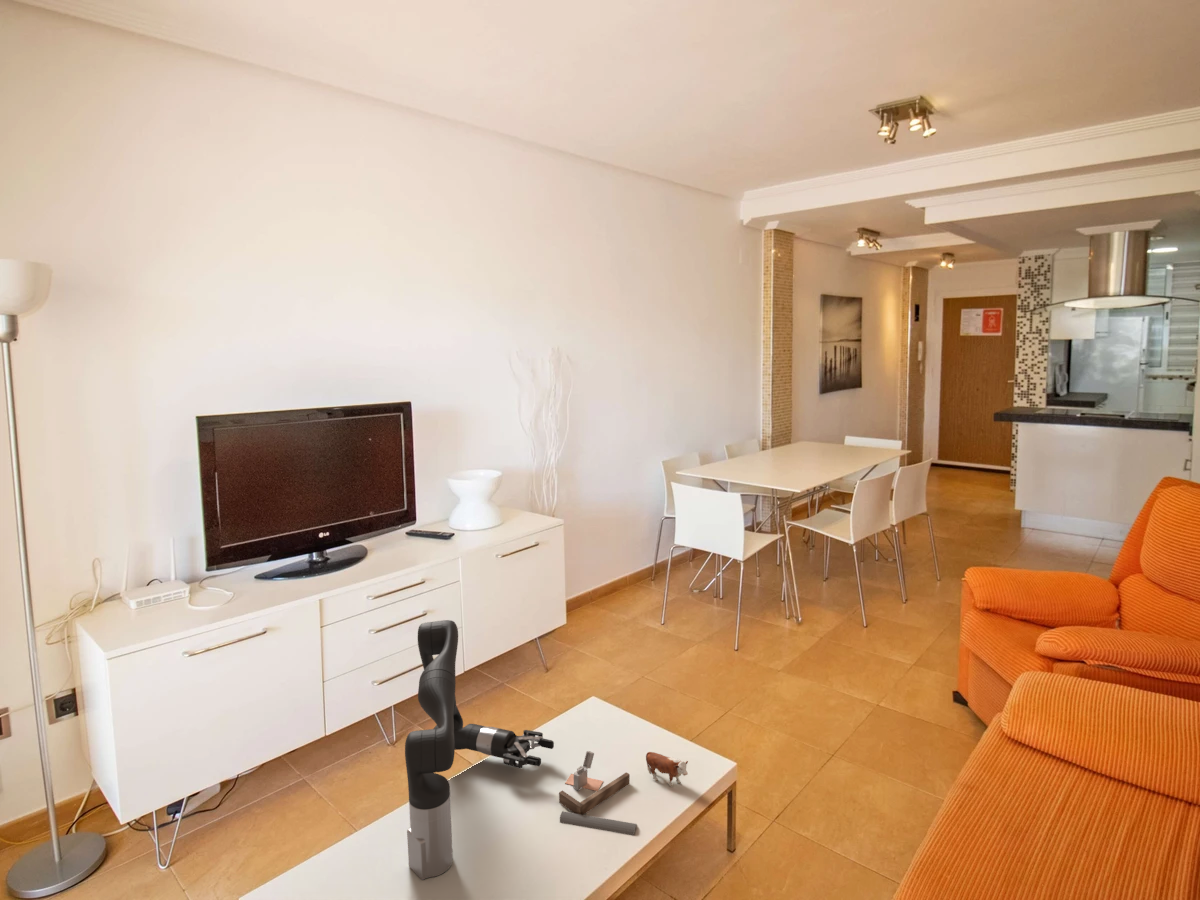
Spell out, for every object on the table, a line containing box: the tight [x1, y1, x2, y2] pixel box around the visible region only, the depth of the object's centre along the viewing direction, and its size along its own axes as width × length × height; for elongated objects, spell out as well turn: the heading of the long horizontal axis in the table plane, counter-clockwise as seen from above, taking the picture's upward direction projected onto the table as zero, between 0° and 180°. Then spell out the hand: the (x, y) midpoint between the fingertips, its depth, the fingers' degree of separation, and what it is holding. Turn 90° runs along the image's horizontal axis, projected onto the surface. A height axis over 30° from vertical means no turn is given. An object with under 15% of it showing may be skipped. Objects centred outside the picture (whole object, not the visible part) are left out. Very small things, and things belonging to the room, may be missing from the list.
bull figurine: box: [645, 751, 689, 787], centre depth 191 cm, size 4×13×8 cm, turn 53°
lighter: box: [573, 750, 595, 791], centre depth 190 cm, size 7×2×8 cm, turn 142°
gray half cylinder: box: [559, 810, 637, 836], centre depth 175 cm, size 4×20×2 cm, turn 76°
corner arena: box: [558, 772, 630, 815], centre depth 186 cm, size 19×8×3 cm, turn 135°
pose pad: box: [565, 773, 604, 792], centre depth 191 cm, size 4×10×1 cm, turn 70°
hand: (547, 753), depth 194 cm, fingers open, 8 cm apart
